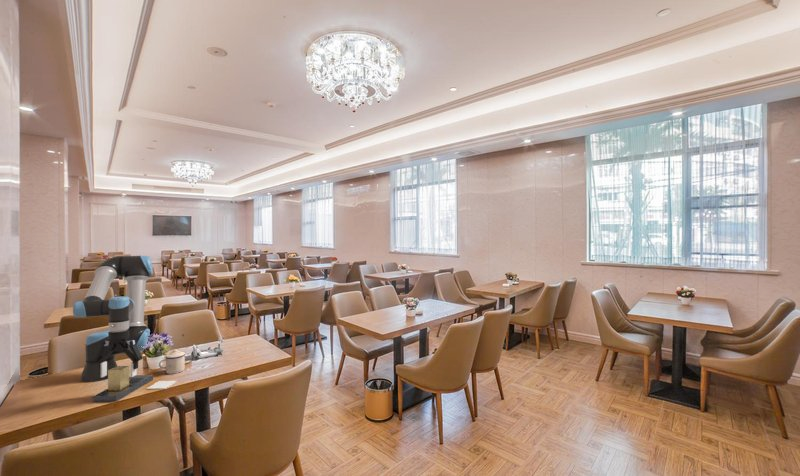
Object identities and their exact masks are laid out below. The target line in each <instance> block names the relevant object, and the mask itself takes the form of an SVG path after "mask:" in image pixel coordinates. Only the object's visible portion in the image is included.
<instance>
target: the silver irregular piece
mask: <svg viewBox="0 0 800 476" xmlns="http://www.w3.org/2000/svg"><path fill="white" fill-rule="evenodd" d="M224 342H225V341H224V337H222V338H221V337H219V338H218V340H217V343H216V344H218V347H217V346H215V347H214V348H213V349H211V347H210V346H209V347H208V348H207V349H202V350H201V349H200V348H199V347H198V346H196V344H193V345H192V351H191V352H190V354H191V356H192V355H193V358H192V359H193V361H198V360H200V359H204V358H207V357H215V356H217V355H221V356H222V355H223V353H222V352H224V349H223V348H222V347H221V346H220V345H221V344H222V343H224Z"/></svg>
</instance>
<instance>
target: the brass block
mask: <svg viewBox="0 0 800 476" xmlns="http://www.w3.org/2000/svg"><path fill="white" fill-rule="evenodd" d="M129 377H130V365H117V366H116V367H114V368H112V369H110V370H108V378H107V389H108V392H121V391H123V390H124V389H126V388H128V387H129Z"/></svg>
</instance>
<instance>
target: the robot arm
mask: <svg viewBox="0 0 800 476" xmlns="http://www.w3.org/2000/svg"><path fill="white" fill-rule="evenodd" d="M152 262H153V261H152V258H151V257H150V256H147V255H118V256H113V257H110V258H108V259H106V260H104V261H102V262H101V263H100V264H98V266H97V267H96V268H95V270H94V273H93V275H94V277H93V279H92V282H91V284H90V285H89V288H88V290H87V292H86V294H85V297H84V298H83V300H79V301H75V302H74V304H73V307H72V314H73V316H74V317H75V318H92V317H93V318H94V317H103V316H104V317H105V316H108V329H104V330H100V331H99V330H98V331H96V332H93V333H91V334H89V335H87V336H86V338H85V345H84V346H85V364H84V367H83V370H82V373H81V375H80V381H81V382H98V381H103V380H108V370H110V369H112V368H114V367H116V366H118V363H117V361H116V358H115V355H123V354H125V355H126V356H127V358H129V359H130V360H131V362H130V377H133V376H135V375H138V372H137V370H138V369H139V361H142V360H143V359H144V357H143V355H142V353H141V352H143V351H145V350H144V349H143V348H142V347H143V346H146V344H147V342H148V338H149V339H150V337H148V336H151V335H150V333H151V330H150V328H147V327H148V326H147V325H146V324H145V303H146V285H147V284H146V283H147V282H148V280H149V279H150V277H151V276H153V275H154V272H153V271H154V269H153V263H152ZM117 277H120V278H121V277H122V278H123V279H124V280H125V282H126V294H125V296H123V295H121V296H114V297H110V298H109V299H105V298H106V296H107V294H108V291H109V289H110V287H111V284H112V281H113V280H115V279H116V278H117ZM148 343H149V342H148ZM141 346H142V347H141Z"/></svg>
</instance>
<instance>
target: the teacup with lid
mask: <svg viewBox="0 0 800 476" xmlns="http://www.w3.org/2000/svg"><path fill="white" fill-rule="evenodd" d="M185 356H186V353H185V352H184V351H179V350H178V349H176V348H175V349H173V351H171V352H170V353H167V354H166V355H165V358H163V359H162V360H160V361H159V362H158V367H159V368H160V369H161V370H165V373H166V374H169V375H173V374H174V375H175V374H179V373H182V372H184V370H185V367H186V366H185V365H186V364H185V363H186V361H185V360H186V359H185ZM164 362H165V366H161V363H164Z"/></svg>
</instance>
